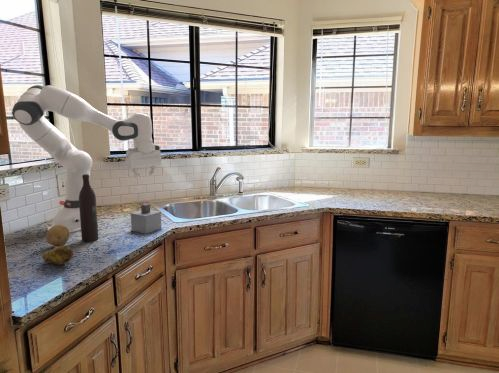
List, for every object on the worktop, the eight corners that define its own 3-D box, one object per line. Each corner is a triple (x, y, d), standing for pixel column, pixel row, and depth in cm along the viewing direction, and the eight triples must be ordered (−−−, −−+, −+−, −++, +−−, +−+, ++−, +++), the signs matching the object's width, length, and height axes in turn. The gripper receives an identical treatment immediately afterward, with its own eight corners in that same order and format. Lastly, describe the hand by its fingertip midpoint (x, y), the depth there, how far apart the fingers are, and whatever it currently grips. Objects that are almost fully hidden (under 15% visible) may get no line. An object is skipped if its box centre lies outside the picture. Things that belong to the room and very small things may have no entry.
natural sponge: (61, 252, 155) (59, 228, 153) (41, 250, 157) (39, 227, 155) (74, 244, 164) (73, 222, 162) (56, 243, 165) (54, 221, 164)
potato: (64, 257, 149) (62, 238, 148) (77, 266, 140) (75, 246, 139) (41, 263, 143) (39, 243, 142) (53, 272, 134) (51, 251, 133)
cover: (146, 233, 180) (145, 207, 178) (131, 230, 185) (130, 205, 183) (161, 228, 189) (160, 203, 187) (146, 225, 194) (145, 201, 192)
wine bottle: (96, 241, 168) (92, 175, 163) (79, 242, 167) (74, 176, 162) (100, 236, 175) (95, 173, 170) (84, 237, 174) (79, 173, 168)
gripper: (131, 149, 169) (132, 179, 172) (163, 146, 187) (163, 173, 189) (121, 148, 173) (123, 178, 175) (153, 145, 190) (154, 172, 192)
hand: (144, 175), depth 182 cm, fingers open, 8 cm apart
